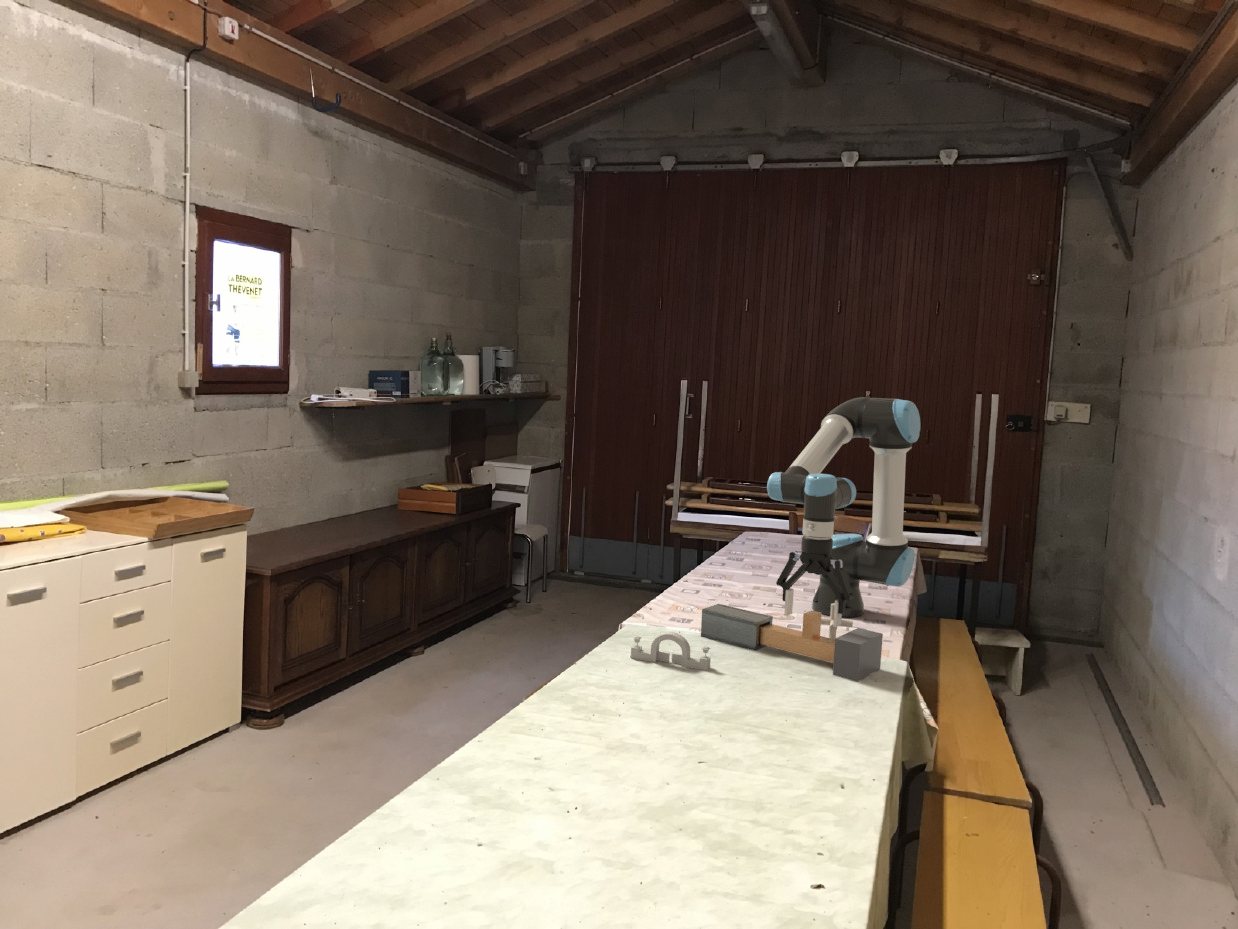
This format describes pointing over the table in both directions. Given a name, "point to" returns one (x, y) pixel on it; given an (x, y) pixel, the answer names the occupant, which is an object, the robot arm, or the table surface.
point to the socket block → (857, 654)
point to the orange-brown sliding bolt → (799, 638)
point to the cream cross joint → (830, 621)
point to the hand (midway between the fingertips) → (812, 620)
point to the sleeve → (733, 625)
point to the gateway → (682, 659)
